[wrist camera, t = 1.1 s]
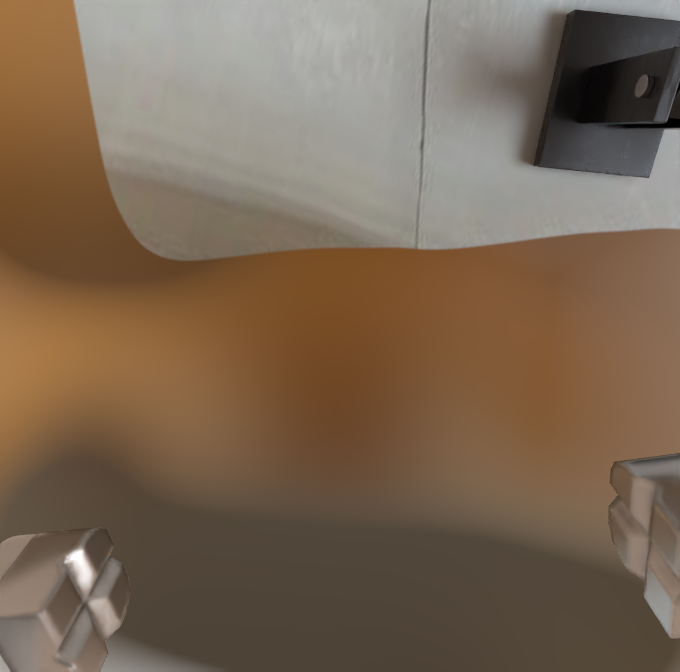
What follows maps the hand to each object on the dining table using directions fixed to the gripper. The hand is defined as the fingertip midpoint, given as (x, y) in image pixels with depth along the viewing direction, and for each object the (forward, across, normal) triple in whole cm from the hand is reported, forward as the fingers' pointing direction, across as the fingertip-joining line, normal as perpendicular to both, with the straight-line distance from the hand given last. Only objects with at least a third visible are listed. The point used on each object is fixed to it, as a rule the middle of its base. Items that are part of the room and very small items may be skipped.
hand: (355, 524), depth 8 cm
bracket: (+43, -24, -4) cm, 49 cm away
